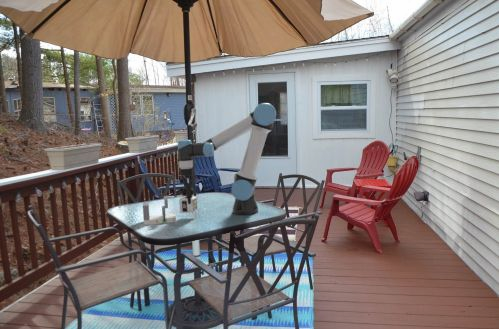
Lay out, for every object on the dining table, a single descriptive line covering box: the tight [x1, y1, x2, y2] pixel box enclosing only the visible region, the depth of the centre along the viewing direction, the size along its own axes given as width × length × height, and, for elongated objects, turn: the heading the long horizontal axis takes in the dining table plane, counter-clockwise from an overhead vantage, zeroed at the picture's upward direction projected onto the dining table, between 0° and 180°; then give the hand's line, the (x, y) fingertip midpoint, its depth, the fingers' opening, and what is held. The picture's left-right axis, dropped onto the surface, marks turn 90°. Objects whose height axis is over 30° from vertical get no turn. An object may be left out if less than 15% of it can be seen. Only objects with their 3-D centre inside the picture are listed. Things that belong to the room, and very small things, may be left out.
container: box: [178, 187, 198, 214], centre depth 211 cm, size 8×8×13 cm
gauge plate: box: [161, 195, 169, 222], centre depth 208 cm, size 3×10×12 cm, turn 15°
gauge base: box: [142, 201, 177, 226], centre depth 208 cm, size 17×9×10 cm, turn 105°
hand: (188, 207), depth 212 cm, fingers closed on container, 10 cm apart
